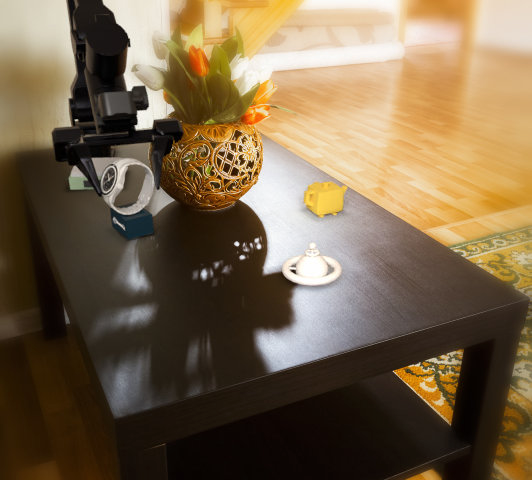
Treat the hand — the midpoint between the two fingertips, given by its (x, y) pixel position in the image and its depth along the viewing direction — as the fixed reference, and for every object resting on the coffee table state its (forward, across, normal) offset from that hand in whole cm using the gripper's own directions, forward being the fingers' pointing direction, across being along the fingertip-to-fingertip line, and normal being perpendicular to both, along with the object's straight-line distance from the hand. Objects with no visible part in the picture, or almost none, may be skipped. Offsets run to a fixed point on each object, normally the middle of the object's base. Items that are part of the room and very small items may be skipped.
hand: (129, 192), depth 92 cm
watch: (+4, 0, +6) cm, 7 cm away
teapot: (+5, +32, +5) cm, 33 cm away
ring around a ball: (+20, +20, -10) cm, 30 cm away
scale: (-13, -2, +24) cm, 27 cm away
